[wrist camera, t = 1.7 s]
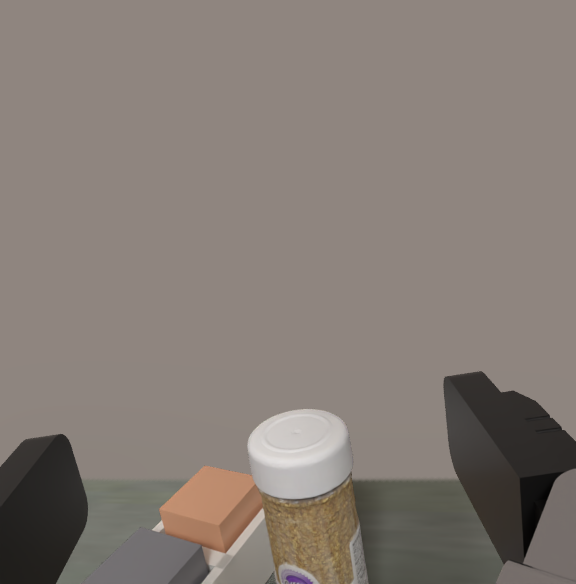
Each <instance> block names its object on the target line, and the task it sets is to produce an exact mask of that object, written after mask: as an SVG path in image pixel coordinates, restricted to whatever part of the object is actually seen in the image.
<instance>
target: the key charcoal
mask: <svg viewBox="0 0 576 584" xmlns="http://www.w3.org/2000/svg"><path fill="white" fill-rule="evenodd" d="M208 575H209V573H208V569H207V565H206V561H205V557H204V553H203V549H202V545H200V544H196V543H193V542H190V541H186V540H183V539H180V538H176V537H173V536H170V535H166V534H163V533H160V532H156V531H153V530H150V529H146V528H143V527H140V528H139V529H138V530H137V531H136V532H135V533H133V534H132V535H131V536H130V537H129V538H128V539H127V540H126V541H125V542H124V543H123V544H122V545H121V546H120V547H119V548H118V549H117V550H116V551H115V552H114V553H112V554H111V555H110V556H109V557H108V558H107V559H106V560H105V561H104V562H103V563H102V564H101V565H100V566H99V567H98V568H97V569H96V570H95V571H94V572H92V573H91V574H90V575H89V576H88V577H87V578H86V579H85V580H84V581H83V582H82V583H81V584H201V583H202V582H203V581H204V580H205V578H206V577H207V576H208Z"/></svg>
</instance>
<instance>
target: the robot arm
mask: <svg viewBox="0 0 576 584" xmlns="http://www.w3.org/2000/svg"><path fill="white" fill-rule="evenodd" d="M444 397H445V408H446V419H447V429H448V441H449V449H450V454H451V459H452V462H453V466H454V469H455V472H456V474H457V476H458V478H459V480H460V482H461V484H462V486H463V488H464V490H465V491H466V493H467V495H468V497H469V499H470V501H471V503H472V505H473V507H474V508H475V510H476V512H477V514H478V516H479V518H480V520H481V522H482V524H483V526H484V527H485V529H486V531H487V533H488V535H489V537H490V539H491V541H492V543H493V545H494V546H495V548H496V550H497V552H498V554H499V556H500V558H501V560H502V562H503V564H504V566H503V568H502V570H501V572H500V574H499V577H498V579H497V581H496V584H576V441H575V440H574V439H573V438H572V437H571V436H570V435H569V434H568V433H567V432H566V431H565V430H562V428H561V426H560V425H559V424H558V423H557V422H556V421H555V420H554V419H553V418H550V415H549V414H548V413H547V412H546V411H545V410H544V409H543V408H542V407H541V406H540V405H539V404H538V403H537V402H536V401H534V400H532V399H530V398H528V397H525V396H524V395H521V394H519V393H517V392H515V391H508V392H502V393H501V392H500V391H499V390H498V389H497V387H496V386H495V385H494V384H493V383H492V382H491V381H490V379H488V377H487V376H486V375H485V374H484V373H483V372H481V371H480V372H473V373H467V374H460V375H454V376H447V377H445V378H444ZM87 516H88V503H87V497H86V494H85V490H84V487H83V484H82V480H81V477H80V474H79V470H78V467H77V464H76V461H75V457H74V454H73V451H72V447H71V444H70V442H69V440H68V439H67V437H66V436H65V435H63V434H58V435H52V436H45V437H39V438H33V439H26V440H24V441H23V442H22V443H21V444H20V445H19V446H18V448H17V449H16V450H15V451H14V452H13V453H12V454H11V455H10V457H9V458H8V459H7V460H6V461H5V462H4V463H3V464H2V466H1V467H0V584H56V582H57V580H58V578H59V576H60V575H61V573H62V571H63V569H64V567H65V565H66V563H67V561H68V559H69V557H70V555H71V553H72V551H73V550H74V548H75V546H76V544H77V542H78V540H79V538H80V536H81V534H82V532H83V530H84V528H85V525H86V522H87Z"/></svg>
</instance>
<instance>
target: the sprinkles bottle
mask: <svg viewBox="0 0 576 584" xmlns="http://www.w3.org/2000/svg"><path fill="white" fill-rule="evenodd" d="M247 449H248V456H249V462H250V467H251V472H252V477H253V480H254V483H255V484H256V486H257V487H258V490H259V493H260V494H261V498H262V504H263V510H264V515H265V521H266V527H267V532H268V537H269V541H270V546H271V552H272V556H273V562H274V572H275V578H276V583H277V584H369V582H368V576H367V570H366V563H365V557H364V550H363V544H362V537H361V530H360V523H359V517H358V514H357V511H356V505H355V496H354V491H353V484H352V478H351V476H352V474H351V470H352V467H353V456H352V449H351V443H350V437H349V432H348V429H347V426H346V425H345V423H344V421H342V419H341V418H339V417H338V416H336V415H334V414H332V413H330V412H327V411H323V410H316V409H301V410H293V411H288V412H284V413H281V414H278V415H275V416H273V417H271V418H269V419H267V420H265V421H264V422H262V423H261V424H260V425H259V426H257V427H256V428H255V429H254V431H253V432H252V433H251V435H250V437H249V440H248V446H247Z"/></svg>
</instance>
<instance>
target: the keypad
mask: <svg viewBox="0 0 576 584" xmlns="http://www.w3.org/2000/svg"><path fill="white" fill-rule="evenodd" d="M152 530H153V531H156V532H160V533H163V534H166V533H165V529H164V526H163V522H162V521H161V522H160V523H159V524H158V525H157V526H156V527H155V528H153V529H152ZM202 549H203V553H204V557H205V561H206V565H207V569H208V573H209V575H208V576H207V577H206V578H205V580H204V581H203V582H202V583H201V584H265V583H266V582H267V581H268V579H269V578H270V576H271V575H272V573H273V572H274V562H273V556H272V552H271V546H270V541H269V537H268V532H267V527H266V521H265V515H264V510H263V508H262V509H261V510H260V512H259V513H258V514H257V515H256V517H255V518H254V519H253V520H252V521H251V523H250V524H249V525H248V526H247V528H246V529H245V530H244V531H243V533H242V534H241V535H240V536H239V538H238V539H237V540H236V541H235V542H234V544H233V545H232V546H231V547H230V549H229V550H228V551H227V552H226V554H225V553H222V552H219V551H216V550H212V549H209V548H206V547H202Z"/></svg>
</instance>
